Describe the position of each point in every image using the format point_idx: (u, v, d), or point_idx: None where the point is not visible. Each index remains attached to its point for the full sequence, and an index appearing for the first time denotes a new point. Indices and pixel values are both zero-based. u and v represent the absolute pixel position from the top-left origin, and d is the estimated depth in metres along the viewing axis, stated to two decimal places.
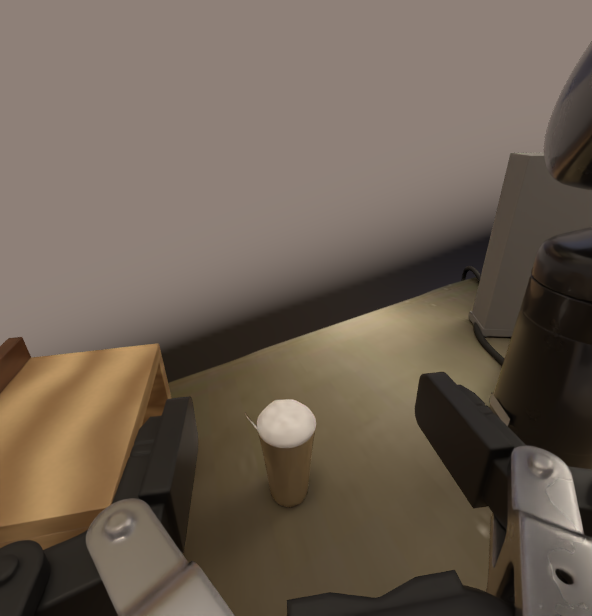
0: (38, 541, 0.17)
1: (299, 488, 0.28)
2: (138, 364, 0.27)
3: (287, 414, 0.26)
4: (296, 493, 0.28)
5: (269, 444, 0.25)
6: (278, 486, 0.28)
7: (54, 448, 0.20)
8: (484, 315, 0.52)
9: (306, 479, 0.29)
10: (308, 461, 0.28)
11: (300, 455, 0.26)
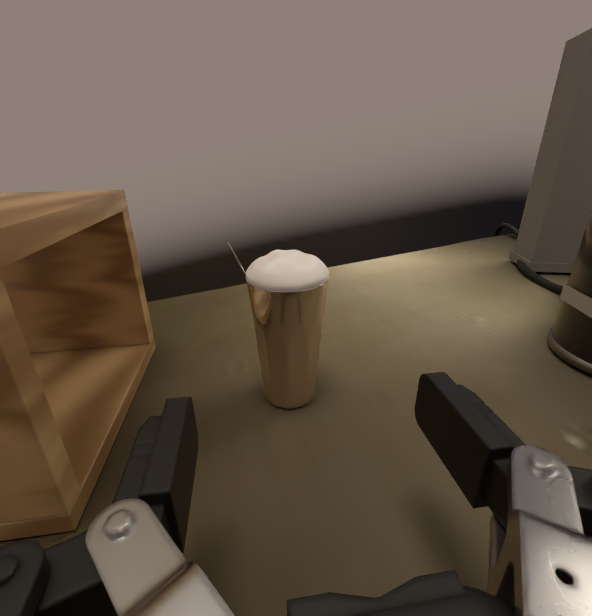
0: None
1: (303, 376, 0.20)
2: (89, 195, 0.20)
3: (289, 257, 0.19)
4: (299, 384, 0.20)
5: (261, 289, 0.18)
6: (274, 369, 0.20)
7: None
8: (531, 247, 0.43)
9: (313, 367, 0.20)
10: (317, 334, 0.20)
11: (306, 311, 0.18)
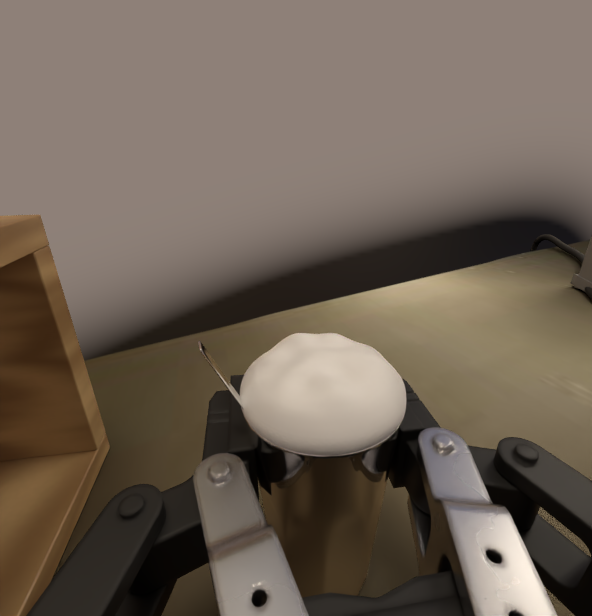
0: None
1: (352, 572, 0.11)
2: None
3: (328, 360, 0.09)
4: (344, 584, 0.11)
5: (273, 444, 0.08)
6: (297, 564, 0.10)
7: None
8: None
9: (369, 546, 0.11)
10: (380, 499, 0.10)
11: (366, 482, 0.09)
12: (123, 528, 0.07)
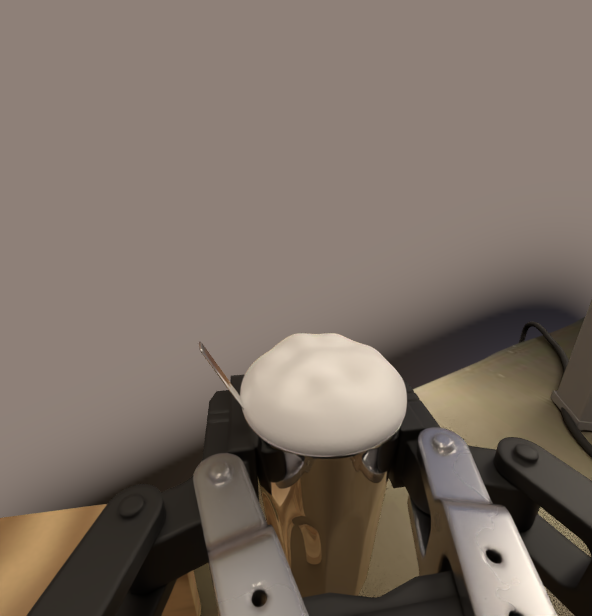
0: None
1: (353, 572, 0.11)
2: None
3: (328, 361, 0.09)
4: (344, 585, 0.11)
5: (273, 444, 0.08)
6: (297, 564, 0.10)
7: None
8: (579, 404, 0.41)
9: (370, 546, 0.11)
10: (380, 499, 0.10)
11: (367, 482, 0.09)
12: (123, 528, 0.07)
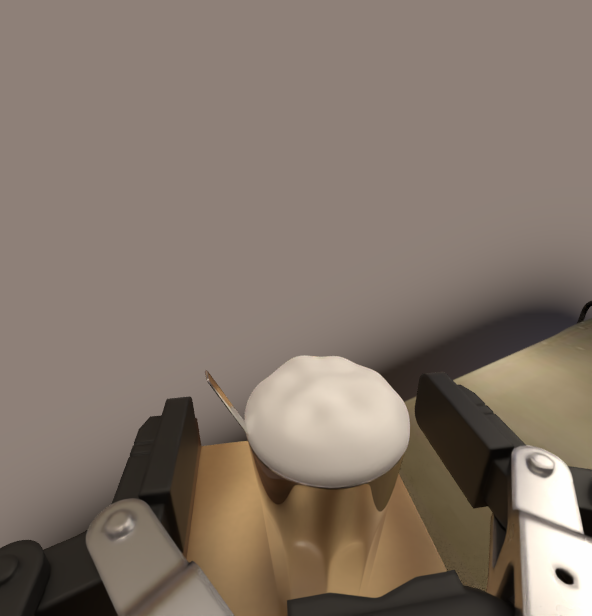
0: None
1: (353, 592, 0.11)
2: None
3: (333, 387, 0.09)
4: None
5: (278, 473, 0.08)
6: (298, 585, 0.10)
7: None
8: None
9: (369, 566, 0.11)
10: (381, 522, 0.10)
11: (370, 509, 0.09)
12: None
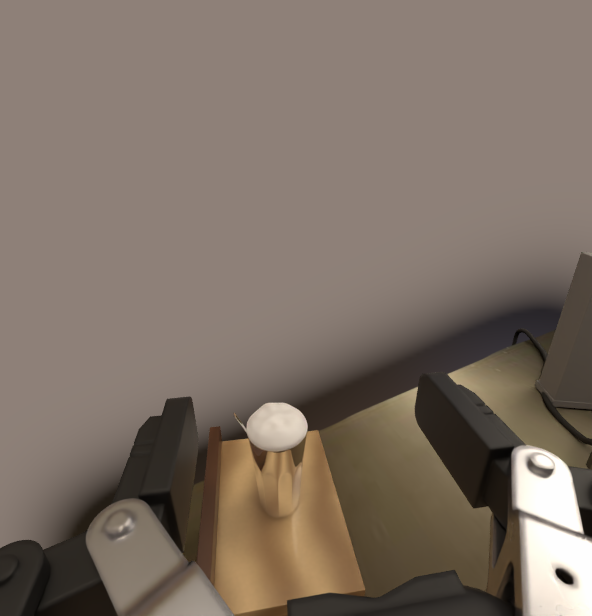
0: None
1: (289, 497, 0.27)
2: (313, 452, 0.34)
3: (278, 417, 0.26)
4: (286, 502, 0.27)
5: (258, 447, 0.24)
6: (267, 493, 0.27)
7: (294, 534, 0.27)
8: (554, 388, 0.57)
9: (297, 488, 0.27)
10: (299, 468, 0.26)
11: (290, 460, 0.25)
12: None
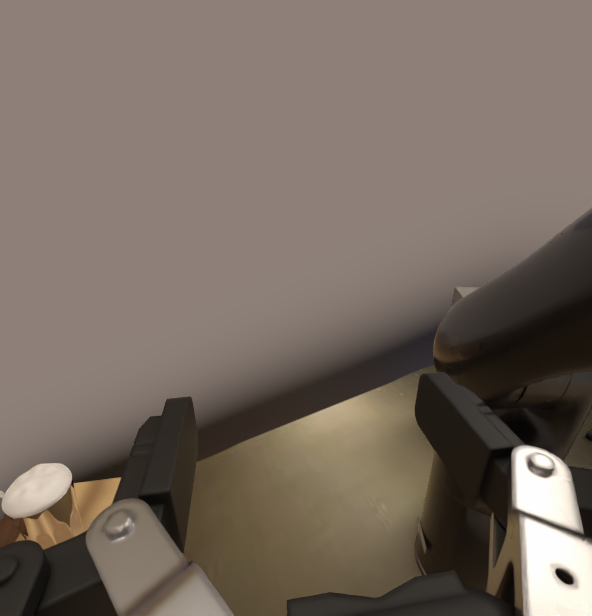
0: None
1: None
2: None
3: (34, 481, 0.27)
4: None
5: None
6: None
7: None
8: None
9: None
10: (63, 527, 0.28)
11: (40, 524, 0.26)
12: None
